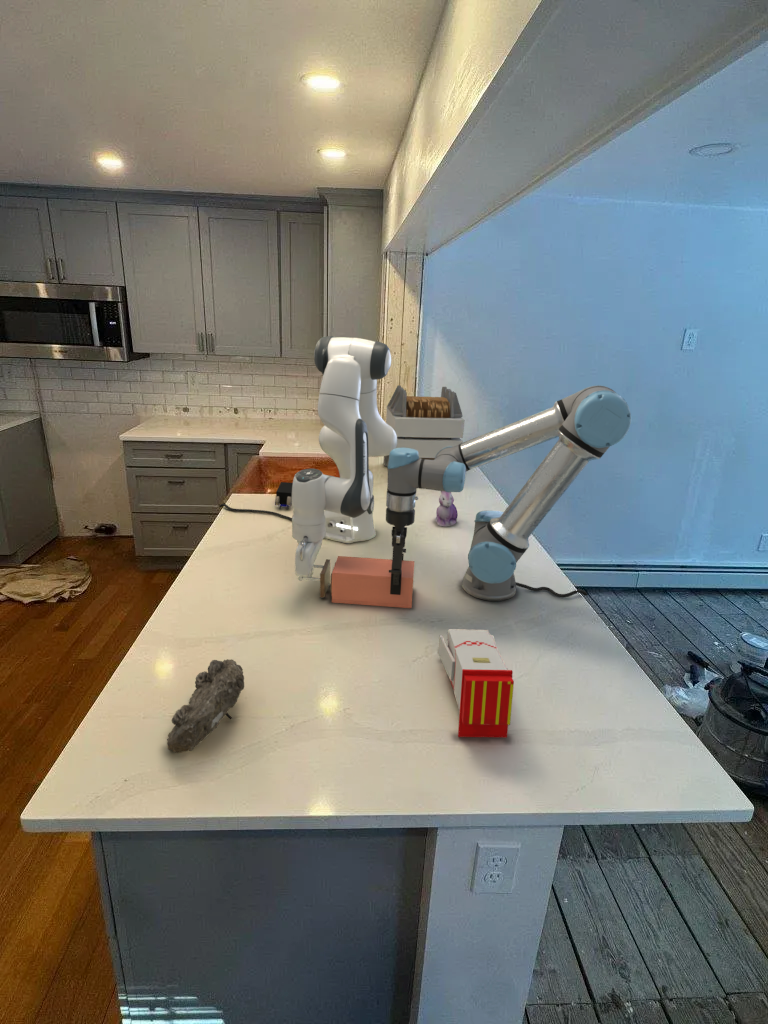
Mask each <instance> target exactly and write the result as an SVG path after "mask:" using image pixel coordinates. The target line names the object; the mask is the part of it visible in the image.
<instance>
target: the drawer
mask: <svg viewBox="0 0 768 1024" xmlns="http://www.w3.org/2000/svg"><path fill="white" fill-rule="evenodd" d="M335 563H336V561H335V562H334V564H335ZM314 568H315V569H321V571H320V573H319V577H313V576H312V577H300V576H297V580H298V581H299V582H302V581H316V582H318V581H319V598H325V597H326V595H327V593H328V588H329V586H330V596H332V572H331V559H329V558H328V559H325V562H324V564H322V565H321V564H314V567H313V569H314Z"/></svg>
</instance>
